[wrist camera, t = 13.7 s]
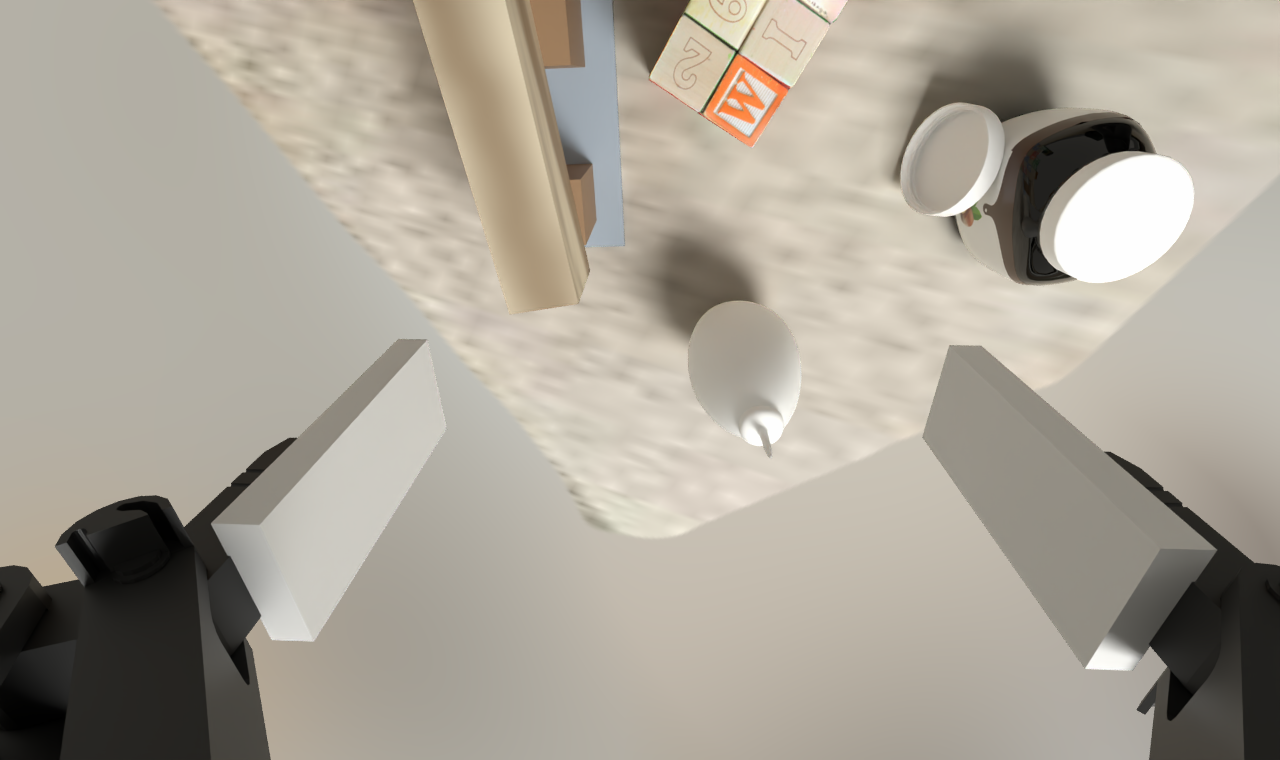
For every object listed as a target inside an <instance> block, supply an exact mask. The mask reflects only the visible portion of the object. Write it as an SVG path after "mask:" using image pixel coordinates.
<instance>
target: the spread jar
mask: <svg viewBox="0 0 1280 760" xmlns="http://www.w3.org/2000/svg"><path fill="white" fill-rule="evenodd" d="M900 185H901V190H902V194H903V197H904V199H905V201H906V202H907V204H908V205H909V206H910V208H912V209H913V210H914V211H916V212H918V213H921V214H923V215H932V216H943V217H947V216H953V215H954V218H955V222H956V225H957V228H958V231H959V233H960V236H961V238H962V240H963V242H964V244H965V246H966V248H967V250H968V251H969V252H970V253H971V254H972V256H973V257H974V258H975V259H976V260H977V261H978V262H980V263H981V264H983V265H984V266H986V267H987V268H989V269H990V270H992V271H994V272H995V273H997V274H999V275H1001V276H1002V277H1004V278H1006V279H1008V280H1010V281H1013V282H1016V283H1020V284H1026V285H1052V284H1059V283H1064V282H1070V281H1074V280H1081V281H1085V282H1090V283H1105V282H1111V281H1116V280H1119V279H1122V278H1126V277H1129V276H1131V275H1133V274H1135V273H1137V272H1139V271H1141V270H1143V269H1144V268H1146V267H1147V266H1149V265H1150V264H1152V263H1153V262H1155V261H1156V260H1157V259H1158V258H1159V257H1161V256H1162V255H1163V254H1164V253H1165V252H1166V251H1167V250H1168V249H1169V248H1170V247H1171V246H1172V245H1173V244H1174V242H1175V241H1176V240H1177V238H1178V237H1179V236H1180V234H1181V233H1182V231H1183V230H1184V228H1185V226H1186V224H1187V222H1188V219H1189V217H1190V214H1191V211H1192V207H1193V203H1194V187H1193V181H1192V179H1191V177H1190V175H1189V173H1188V171H1187V170H1186V168H1185V167H1184V166H1183V165H1182V164H1181V163H1180V162H1178V161H1176V160H1174V159H1172V158H1171V157H1167V156H1163V155H1159V154H1157V153H1156V151H1155V148H1154V146H1153V144H1152V141H1151V139H1150V137H1149V136H1148V134H1147V133H1146V132H1145V130H1144V129H1143V128H1142V126H1141V125H1140V124H1139V123H1138V122H1136V121H1135V120H1133V119H1132V118H1130V117H1128V116H1127V115H1123V114H1120V113H1117V112H1113V111H1108V110H1099V109H1085V108H1057V109H1048V110H1041V111H1036V112H1032V113H1028V114H1024V115H1021V116H1018V117H1015V118H1012V119H1009V120H1007V121H1004V122H1002V123H1001V122H1000V120H999V118H998V117H997V115H996V114H995V113H993V112H992V111H991V110H990V109H988V108H985V107H983V106H979V105H974V104H969V103H961V102H958V103H952V104H949V105H946V106H943V107H941V108H940V109H938V110H936V111H935V112H933V113H932V114H931V115H930V116H929V117H927V118H926V119H925V120H924V121H923V123H922V124H921V125H920V126H919V127H918V128H917V130H916V131H915V133H914V134H913V136H912V138H911V140H910V142H909V144H908V146H907V148H906V151H905V153H904V156H903V160H902V164H901V171H900Z"/></svg>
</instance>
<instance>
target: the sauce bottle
mask: <svg viewBox="0 0 1280 760" xmlns="http://www.w3.org/2000/svg"><path fill="white" fill-rule="evenodd" d="M688 371H689V376H690V381H691V385H692V388H693V390H694V393H695V395H696V397H697V399H698V401H699V403H700V405H701V406H702V407H703V409H704V410H705V411H706V413H707V414H708V415H709V417H710V418H711V419H712V420H713V421H714V422H715V423H717V424H718V425H719V426H720V427H722V428H723V429H724V430H726V431H727V432H729V433H731V434H733V435H735V436H737V437H740V438H743V440H744V441H746V442H747V443H749V444H751V445H755V446H763V447H764V449H765V452H766V454H767V456H768V457H769V458H772V449H771V444H772V443H774V442H776V441H777V440H778V439H779V438H780V436H781V435H782V432H783V429H784V427H785V426H786V425H787V424H788V422H789V420H790V418H791V417H792V415H793V413H794V410H795V408H796V405H797V402H798V398H799V394H800V387H801V378H802V371H801V359H800V354H799V350H798V347H797V344H796V341H795V338H794V336H793V334H792V332H791V331H790V329H789V327H788V326H787V324H786V323H785V322H784V320H782V319H781V318H780V317H779V316H778V315H777V314H776V313H775V312H774V311H772V310H770V309H768V308H767V307H765V306H763V305H760V304H757V303H754V302H749V301H729V302H724V303H721V304H718V305H716V306H714V307H712V308H711V309H709V310H708V311H707V312H706V313H705V314H704V315H703V316H702V317H701V318H700V320H699V321H698V323H697V324H696V326H695V328H694V330H693V333H692V335H691V339H690V343H689V348H688Z"/></svg>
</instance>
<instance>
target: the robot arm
mask: <svg viewBox="0 0 1280 760" xmlns="http://www.w3.org/2000/svg"><path fill="white" fill-rule="evenodd" d="M446 429H447V427H446V423H445V418H444V413H443V409H442V404H441V400H440V395H439V390H438V386H437V381H436V377H435V372H434V368H433V363H432V358H431V354H430V349H429V345H428V340H421V339H398V340H397V341H396V342H395V343H394V344H393V345H392V346H391V347H390V348H389V349H388V350H387V351H386V352H385V353H384V354H383V355H382V356H381V357H380V358H379V359H378V360H377V361H376V362H375V363H374V364H373V365H372V366H371V367H370V368H369V369H367V370H366V371H365V373H363V374H362V375H361V376H360V377H359V378H358V379H357V380H356V381H355V382H354V383H353V384H352V385H351V386H350V387H349V388H348V389H347V390H346V391H345V392H344V393H343V394H342V395H341V396H340V397H339V398H338V399H337V400H336V401H335V402H334V403H333V404H332V405H331V406H330V407H329V408H328V409H327V410H326V411H325V412H324V413H323V414H322V415H321V416H320V417H319V418H318V419H317V420H316V421H315V422H314V423H313V424H312V425H311V426H309V427H308V428H307V430H305V431H304V432H303V433H302V434H301V435H300V437H298V438H288V439H286V440H285V441H283V442H281V443H279V444H278V445H276V446H274V447H272V448H271V449H269V450H267V451H266V452H264V453H263V454H262V455H261V456H260V457H259V458H258V459H257V460H256V461H254V462H253V463H252V464H251V465H250V466H249V467H248V468H247V469H246V473H242V474H241V475H239V476H238V477H237V478H236V479H235V480H234V481H233V482H232V483H231V487H227V488H225V489H224V490H223V491H222V492H221V493H220V494H219V495H218V496H217V497H216V498H215V499H214V500H213V501H212V502H211V503H209V505H207V506H206V507H205V508H204V509H203V510H202V511H201V512H200V513H199V514H198V515H197V516H196V517H195V518H193V519H192V521H190V522H189V523H188V524H187V525H186V526H185V527H183V525H182V523H181V521H180V520H179V518H178V516H177V514H176V512H175V511H174V509H173V507H172V505H171V504H170V502H169V500H168V499H166V498H163V497H160V496H156V495H155V496H139V497H134V498H131V499H126V500H122V501H118V502H116V503H113V504H111V505H108V506H106V507H103V508H101V509H98V510H96V511H95V512H93V513H91V514H89V515H87V516H86V517H84V518H82V519H81V520H79V521H77V522H76V523H75V524H73V525H72V526H71V527H70V528H69V529H68V530H66V531H65V532H64V533H63V534H62V535H61V537H60V538H59V540H58V542H57V544H56V545H55V547H56V549H57V550H58V552H59V553H60V554H61V556H62V557H63V558H64V560H65V561H66V562H67V564H68V565H69V567H70V568H71V569H72V571H73V572H74V574H75V575H76V576H77V578H78V579H79V580H74V581H69V582H64V583H59V584H54V585H49V586H44V587H42V586H41V584H40V583H39V582H38V581H37V579H36V578H35V577H34V576H33V574H32V573H31V572H30V570H29V569H28V568H27V567H21V566H15V565H13V566H6V567H0V760H271V759H270V753H269V747H268V741H267V735H266V729H265V723H264V717H263V711H262V705H261V699H260V693H259V688H258V681H257V676H256V669H255V664H254V658H253V652H252V648H251V647H250V645H249V643H248V641H247V640H246V638H245V637H246V636H247V635H248V633H249V632H250V631H251V629H252V628H253V627H254V625H255V624H256V623H257V621H258V620H259V619H260V618H261V620H262V622H263V624H264V626H265V628H266V630H267V632H268V634H269V636H270V638H271V640H286V641H315V639H316V637H317V636H318V634H319V633H320V631H321V629H322V628H323V626H324V625H325V623H326V621H327V620H328V618H329V616H330V615H331V613H332V612H333V610H334V609H335V607H336V605H337V604H338V602H339V601H340V599H341V597H342V596H343V594H344V593H345V591H346V589H347V588H348V586H349V585H350V583H351V581H352V580H353V578H354V576H355V575H356V573H357V572H358V570H359V568H360V567H361V565H362V564H363V562H364V560H365V559H366V557H367V555H368V554H369V552H370V551H371V549H372V548H373V546H374V544H375V543H376V541H377V539H378V538H379V536H380V535H381V533H382V532H383V530H384V528H385V527H386V525H387V524H388V522H389V520H390V519H391V517H392V516H393V514H394V512H395V511H396V509H397V508H398V506H399V504H400V503H401V501H402V499H403V498H404V496H405V495H406V493H407V491H408V490H409V488H410V487H411V485H412V484H413V482H414V480H415V479H416V477H417V475H418V474H419V472H420V471H421V469H422V467H423V466H424V464H425V462H426V461H427V459H428V458H429V456H430V455H431V453H432V451H433V450H434V448H435V447H436V445H437V443H438V442H439V440H440V439H441V436H442V435H443V434H444V432H445V431H446ZM923 439H924V440H925V442H926V443H927V445H928V446H929V447H930V449H931V450H932V452H933V453H934V455H935V456H936V457H937V459H938V460H939V462H940V463H941V464H942V466H943V467H944V469H945V470H946V471H947V473H948V474H949V476H950V477H951V479H952V480H953V482H954V483H955V484H956V486H957V487H958V489H959V490H960V492H961V493H962V494H963V496H964V497H965V499H966V500H967V502H968V503H969V504H970V506H971V507H972V509H973V510H974V511H975V513H976V514H977V516H978V517H979V519H980V520H981V521H982V523H983V524H984V526H985V527H986V529H987V530H988V531H989V533H990V534H991V536H992V537H993V539H994V540H995V541H996V543H997V544H998V546H999V547H1000V549H1001V550H1002V551H1003V553H1004V554H1005V556H1006V557H1007V558H1008V560H1009V561H1010V563H1011V564H1012V565H1013V567H1014V568H1015V570H1016V571H1017V573H1018V574H1019V576H1020V577H1021V578H1022V580H1023V581H1024V583H1025V584H1026V586H1027V587H1028V588H1029V590H1030V591H1031V592H1032V594H1033V596H1034V597H1035V598H1036V600H1037V601H1038V603H1039V604H1040V605H1041V607H1042V608H1043V610H1044V611H1045V613H1046V614H1047V615H1048V617H1049V618H1050V620H1051V621H1052V623H1053V624H1054V625H1055V627H1056V628H1057V630H1058V631H1059V632H1060V634H1061V635H1062V637H1063V638H1064V640H1065V641H1066V643H1067V644H1068V645H1069V647H1070V648H1071V649H1072V651H1073V652H1074V654H1075V655H1076V657H1077V658H1078V660H1079V661H1080V662H1081V664H1082V665H1083V667H1084V668H1085V669H1104V670H1134V668H1135V667H1136V665H1137V664H1138V662H1139V661H1140V660H1141V658H1142V657H1143V655H1144V654H1145V653H1146V651H1147V650H1148V648H1149V647H1150V646H1151V647H1152V649H1153V650H1154V651H1155V652H1156V653H1157V655H1158V656H1159V657H1160V658H1161V659H1162V661H1163V662H1164V663H1165V664H1166V665H1167V666H1168V667H1167V668H1166V669H1165V671H1164V672H1163V673H1162V675H1161V676H1160V677H1159V679H1158V680H1157V681H1156V683H1155V684H1154V685H1153V687H1152V688H1151V689H1150V691H1149V692H1148V693H1147V695H1146V696H1145V697H1144V699H1143V700H1142V701H1141V703H1140V705H1139V707H1138V708H1137V711H1139V712H1141V713H1143V714H1146V713H1147V712H1148V710H1149V709H1150V708H1151V707H1152V706H1155V710H1154V720H1153V729H1152V738H1151V748H1150V758H1149V760H1280V566H1277V565H1270V564H1261V563H1254V562H1253V561H1251V560H1250V559H1249V558H1248V557H1246V556H1245V555H1244V554H1243V553H1242V552H1240V551H1239V550H1238V549H1237V548H1235V547H1234V546H1233V545H1232V544H1231V543H1230V542H1228V541H1227V540H1226V539H1225V538H1224V537H1222V536H1221V535H1220V534H1219V533H1218V532H1216V531H1215V530H1214V529H1213V528H1212V527H1210V526H1209V525H1208V524H1207V523H1205V522H1204V521H1203V520H1202V519H1201V518H1200V517H1198V516H1197V515H1196V514H1195V513H1194V512H1192V511H1191V510H1190V509H1189V508H1187V507H1183V506H1182V502H1180V501H1179V500H1178V499H1176V497H1174V496H1173V495H1172V494H1171V493H1170V492H1168V491H1164V490H1163V487H1162V486H1161V485H1160V484H1159V483H1158V482H1156V481H1155V480H1154V479H1153V478H1151V477H1150V476H1149V475H1148V474H1147V473H1146V472H1144V471H1143V470H1142V469H1141V468H1139V467H1137V466H1135V465H1133V464H1132V463H1130V462H1128V461H1126V460H1124V459H1123V458H1121V457H1119V456H1117V455H1115V454H1113V453H1111V452H1103V451H1102V450H1101V449H1100V448H1099V447H1098V446H1096V445H1095V444H1094V443H1093V442H1092V441H1091V440H1090V439H1088V438H1087V437H1086V436H1085V435H1084V434H1082V433H1081V432H1080V431H1079V430H1078V429H1077V428H1076V427H1075V426H1073V425H1072V424H1071V423H1070V422H1069V421H1068V420H1066V419H1065V418H1064V417H1063V416H1062V415H1061V414H1060V413H1058V412H1057V411H1056V410H1055V409H1054V408H1052V407H1051V406H1050V405H1049V404H1048V403H1047V402H1046V401H1044V400H1043V399H1042V398H1041V397H1040V396H1039V395H1037V394H1036V393H1035V392H1034V391H1033V390H1032V389H1031V388H1029V387H1028V386H1027V385H1026V384H1025V383H1024V382H1023V381H1021V380H1020V379H1019V378H1018V377H1017V376H1016V375H1014V374H1013V373H1012V372H1011V371H1010V370H1009V369H1007V368H1006V367H1005V366H1004V365H1003V364H1002V363H1001V362H999V361H998V360H997V359H996V358H995V357H994V356H992V355H991V354H990V353H989V352H988V351H987V350H986V349H984V348H983V347H982V346H954V345H949V349H948V352H947V355H946V359H945V362H944V366H943V369H942V372H941V376H940V379H939V382H938V386H937V389H936V393H935V396H934V399H933V403H932V406H931V410H930V413H929V416H928V420H927V423H926V426H925V430H924V433H923Z"/></svg>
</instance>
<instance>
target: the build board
mask: <svg viewBox="0 0 1280 760" xmlns="http://www.w3.org/2000/svg"><path fill="white" fill-rule="evenodd" d="M530 5H531V9H532V14H533V18H534V23H535V27H536V32H537V36H538V41H539V45H540V50H541V54H542V59H543V63H544V67H545V72H546V76H547V81H548V85H549V90H550V94H551V99H552V103H553V108H554V112H555V117H556V121H557V126H558V130H559V134H560V139H561V143H562V148H563V152H564V157H565V161H566V166H567V170H568V175H569V179H570V184H571V188H572V193H573V197H574V201H575V206H576V210H577V215H578V219H579V224H580V228H581V233H582V237H583V242H584V246H585V247H608V246H625V238H624V219H623V199H622V179H621V159H620V140H619V120H618V100H617V80H616V61H615V41H614V21H613V1H612V0H530Z"/></svg>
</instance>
